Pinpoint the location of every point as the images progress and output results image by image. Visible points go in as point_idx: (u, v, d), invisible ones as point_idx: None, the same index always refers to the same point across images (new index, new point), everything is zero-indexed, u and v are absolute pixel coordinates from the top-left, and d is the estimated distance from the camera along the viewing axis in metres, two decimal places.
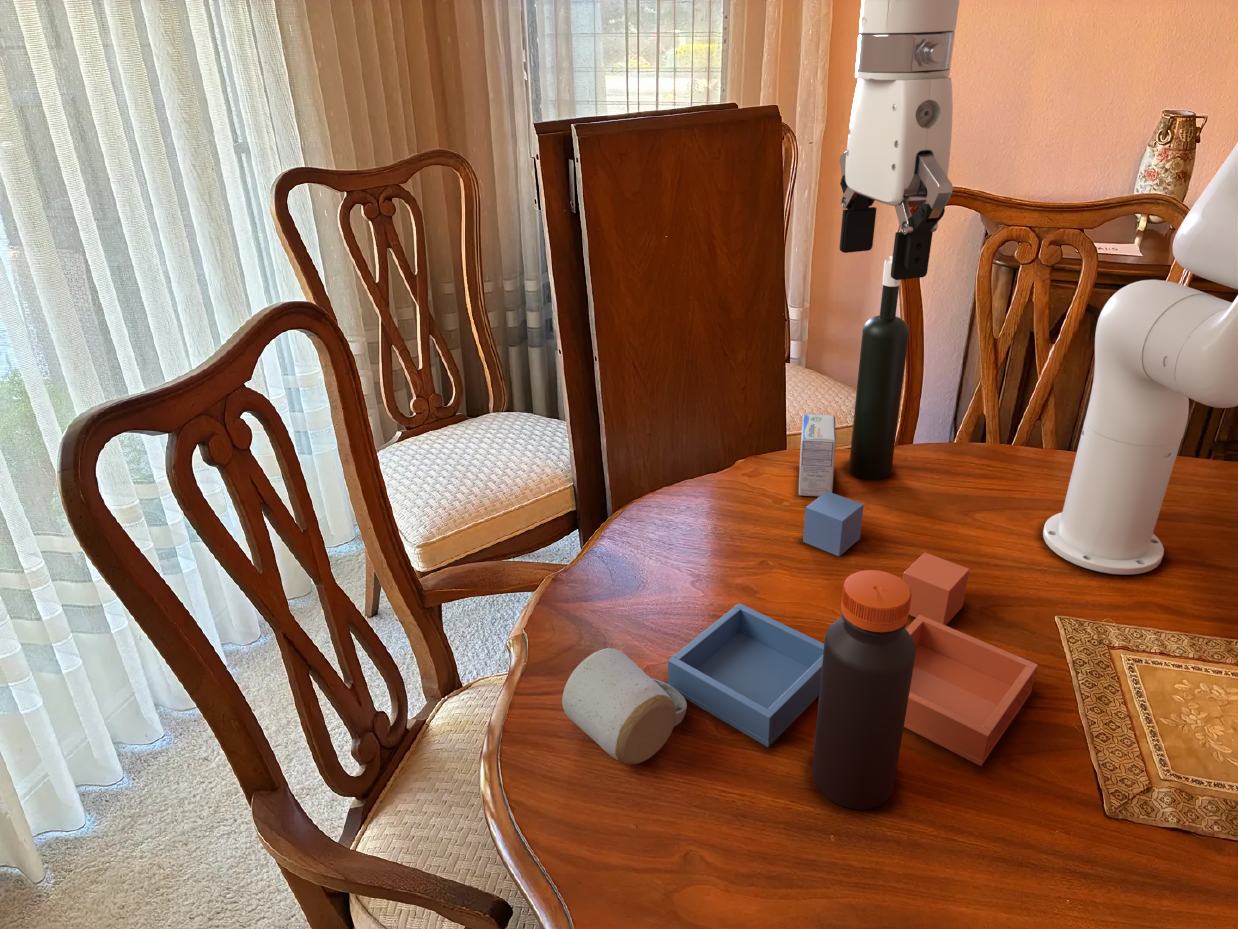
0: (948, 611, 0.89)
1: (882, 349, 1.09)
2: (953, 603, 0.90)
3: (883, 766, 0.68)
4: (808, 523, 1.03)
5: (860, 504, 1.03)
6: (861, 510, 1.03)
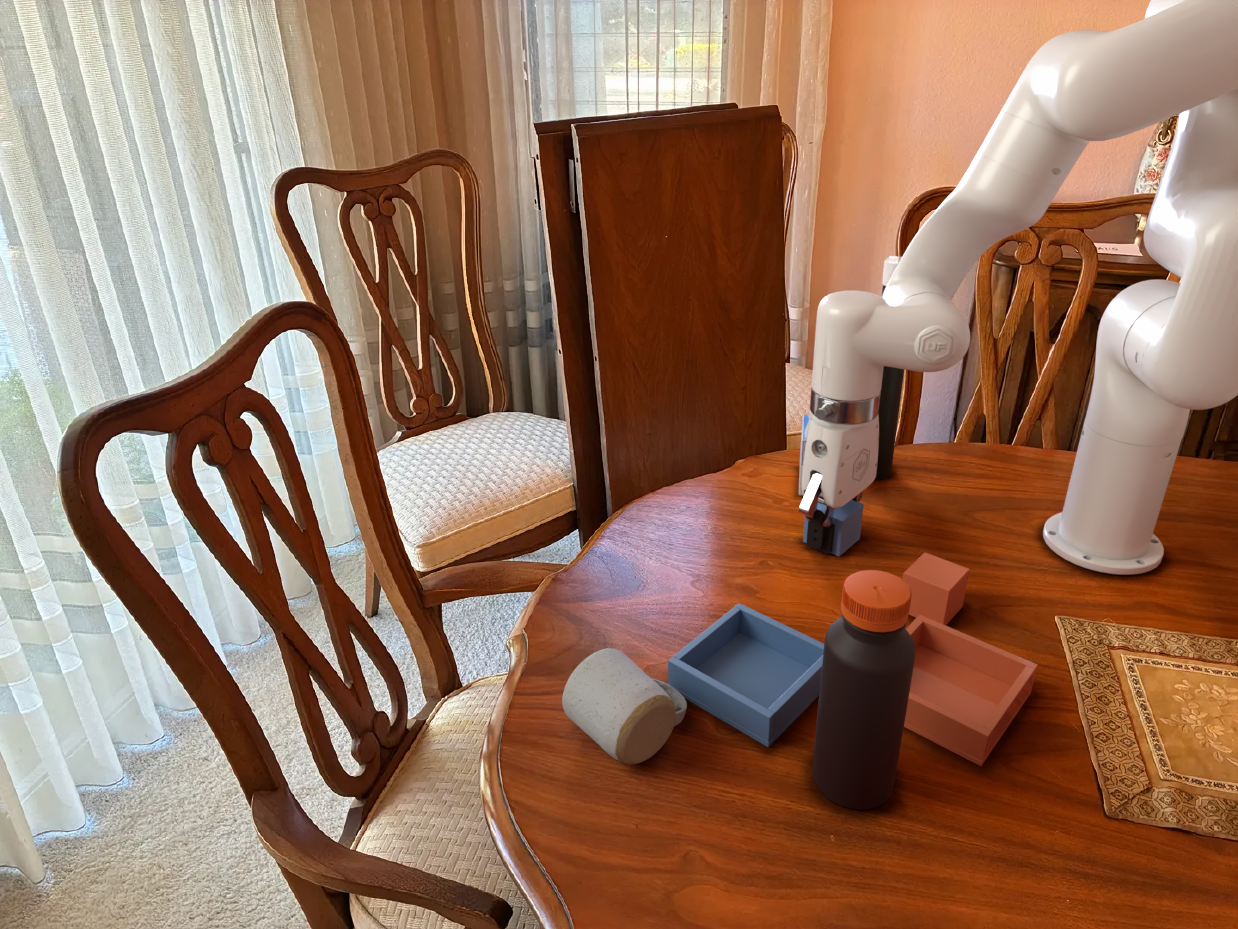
0: (948, 611, 0.89)
1: None
2: (953, 603, 0.90)
3: (883, 766, 0.68)
4: None
5: (860, 504, 1.03)
6: (861, 510, 1.03)
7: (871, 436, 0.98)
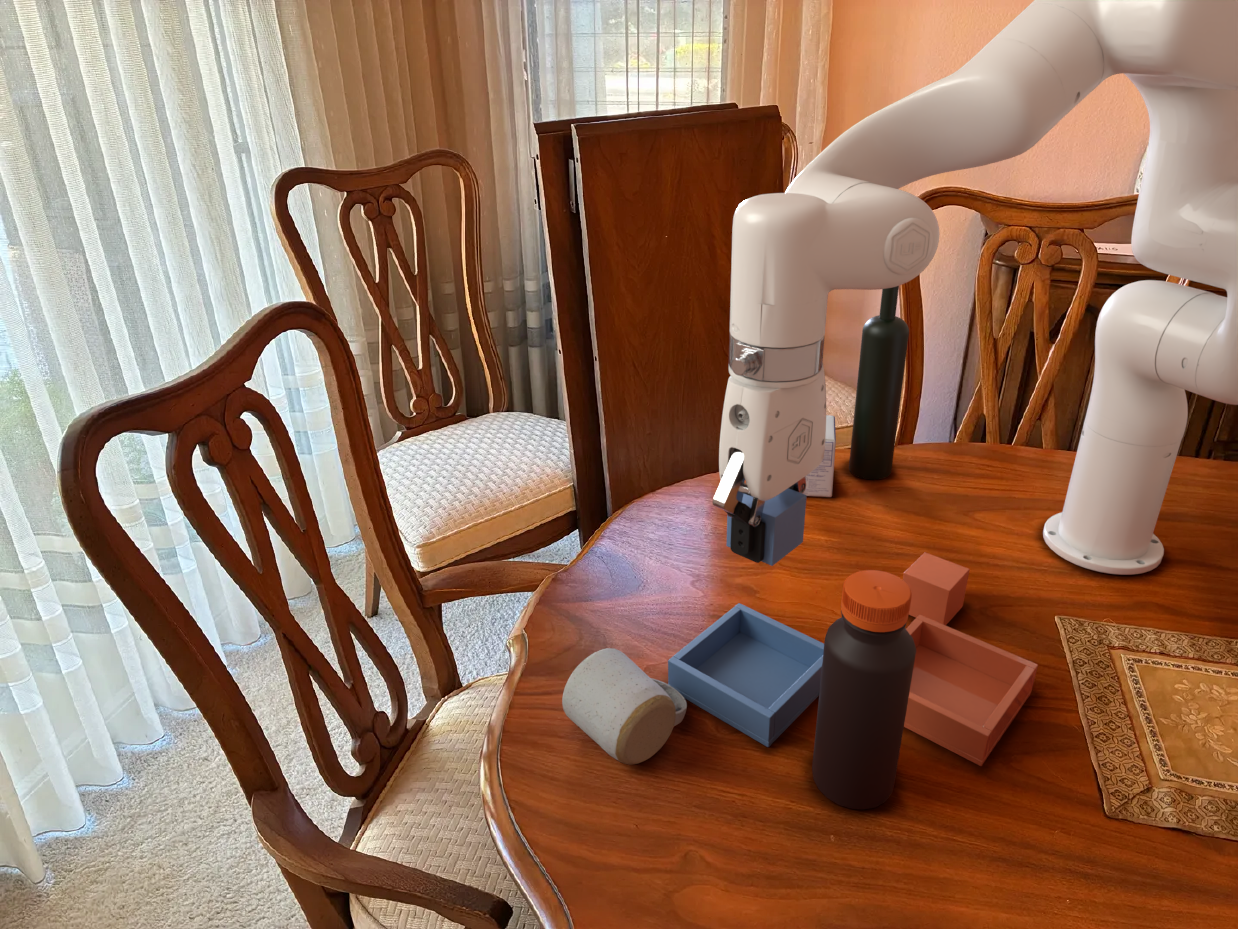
0: (948, 611, 0.89)
1: (882, 349, 1.09)
2: (953, 603, 0.90)
3: (883, 766, 0.68)
4: None
5: (802, 495, 0.76)
6: (803, 503, 0.76)
7: (814, 401, 0.71)
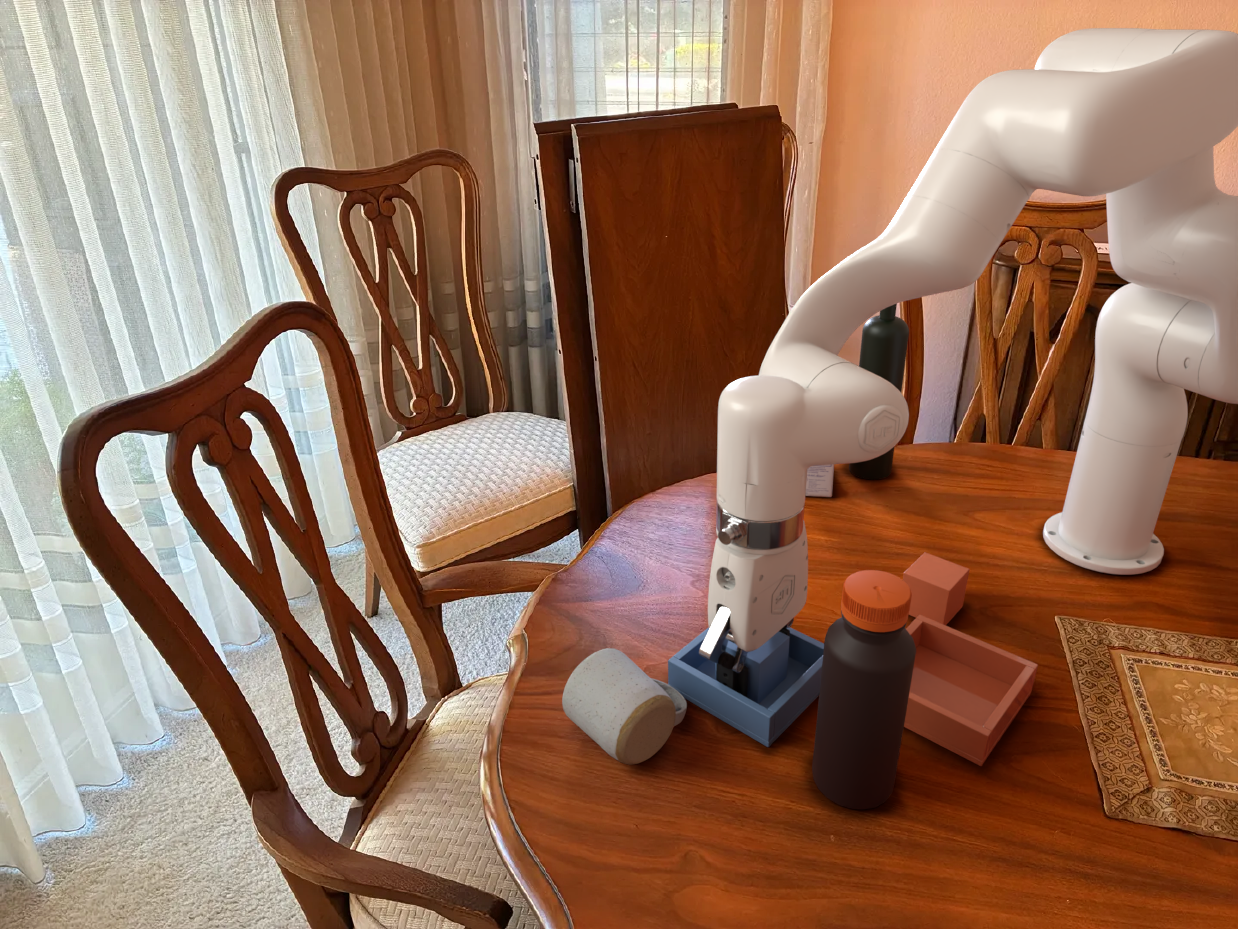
0: (948, 611, 0.89)
1: (882, 349, 1.09)
2: (953, 603, 0.90)
3: (883, 766, 0.68)
4: None
5: (785, 637, 0.81)
6: (786, 644, 0.81)
7: (796, 557, 0.76)
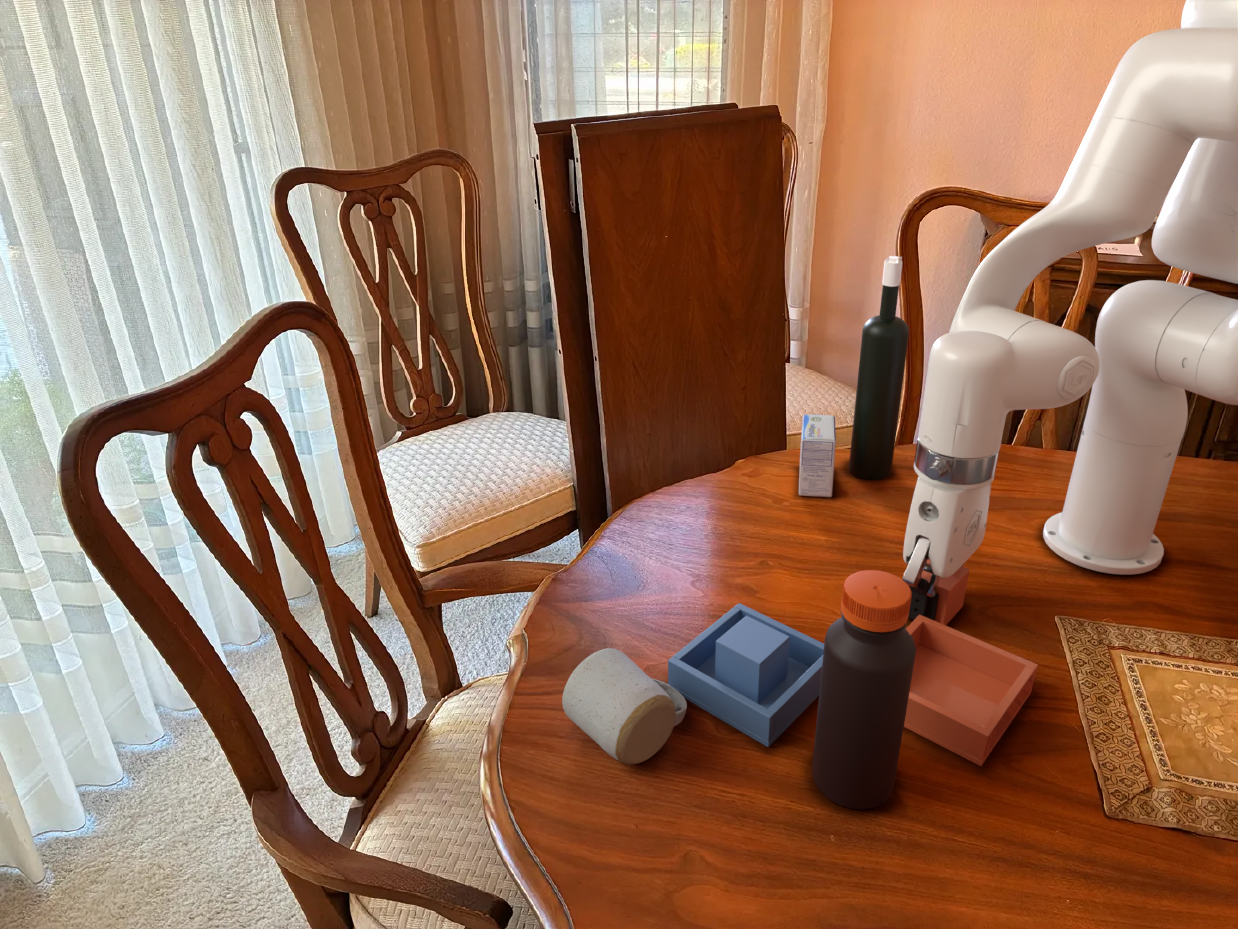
0: (948, 611, 0.89)
1: (882, 349, 1.09)
2: (953, 603, 0.90)
3: (883, 766, 0.68)
4: (720, 660, 0.81)
5: (785, 637, 0.81)
6: (786, 644, 0.81)
7: (984, 495, 0.85)
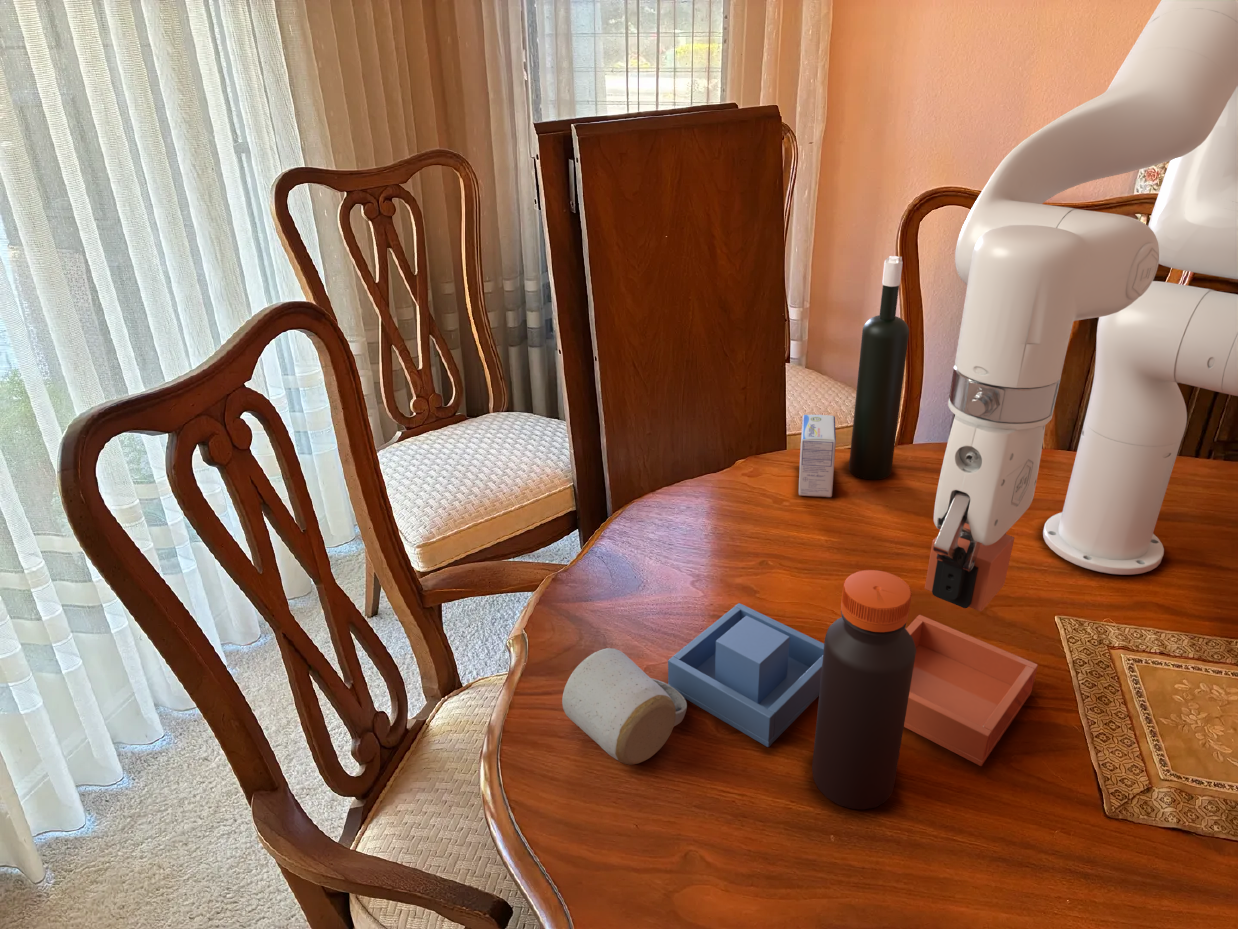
0: (988, 589, 0.71)
1: (882, 349, 1.09)
2: (994, 579, 0.72)
3: (883, 766, 0.68)
4: (720, 660, 0.81)
5: (785, 637, 0.81)
6: (786, 644, 0.81)
7: (1037, 441, 0.68)
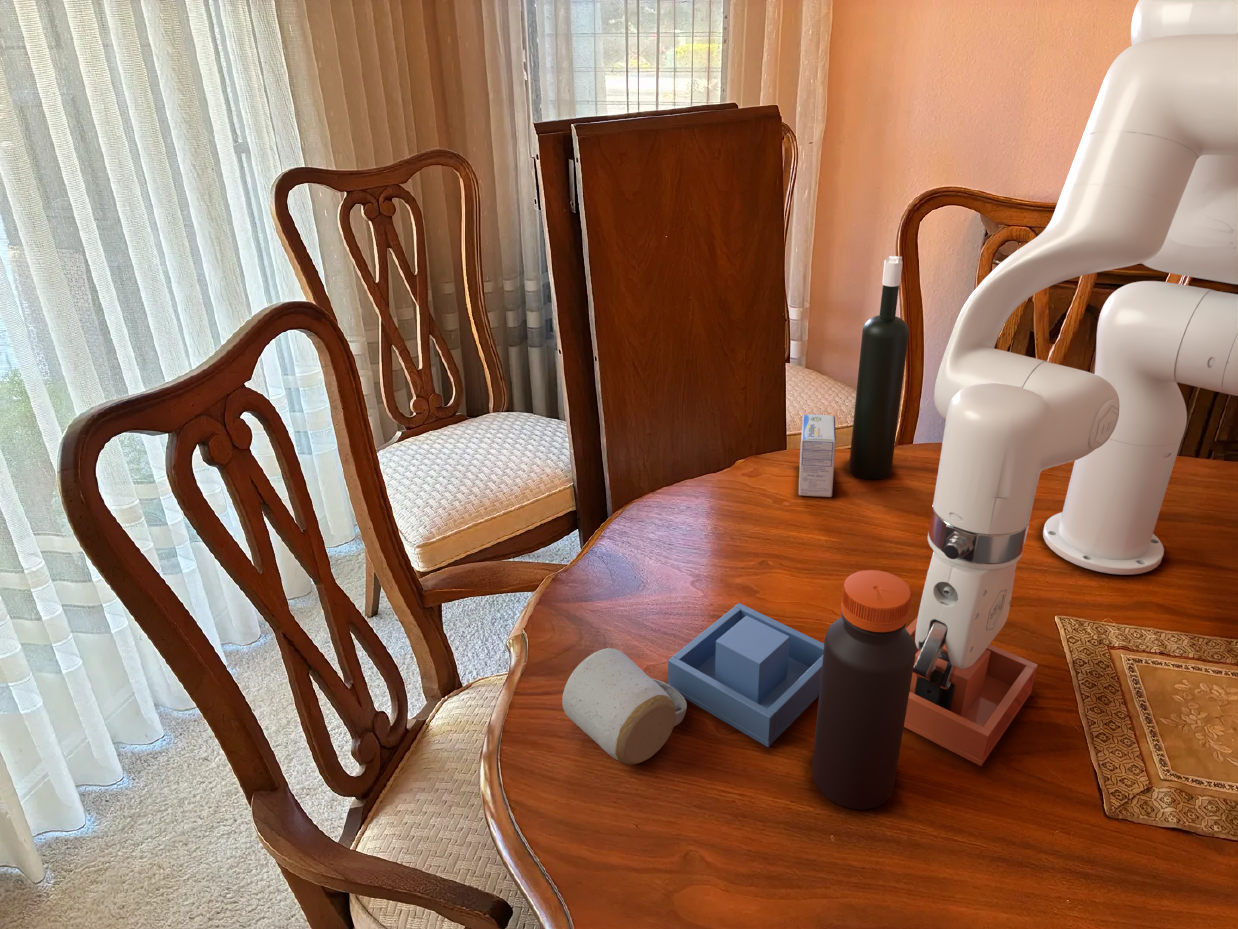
0: (966, 702, 0.77)
1: (882, 349, 1.09)
2: (972, 692, 0.77)
3: (883, 766, 0.68)
4: (720, 660, 0.81)
5: (785, 637, 0.81)
6: (786, 644, 0.81)
7: (1010, 571, 0.73)
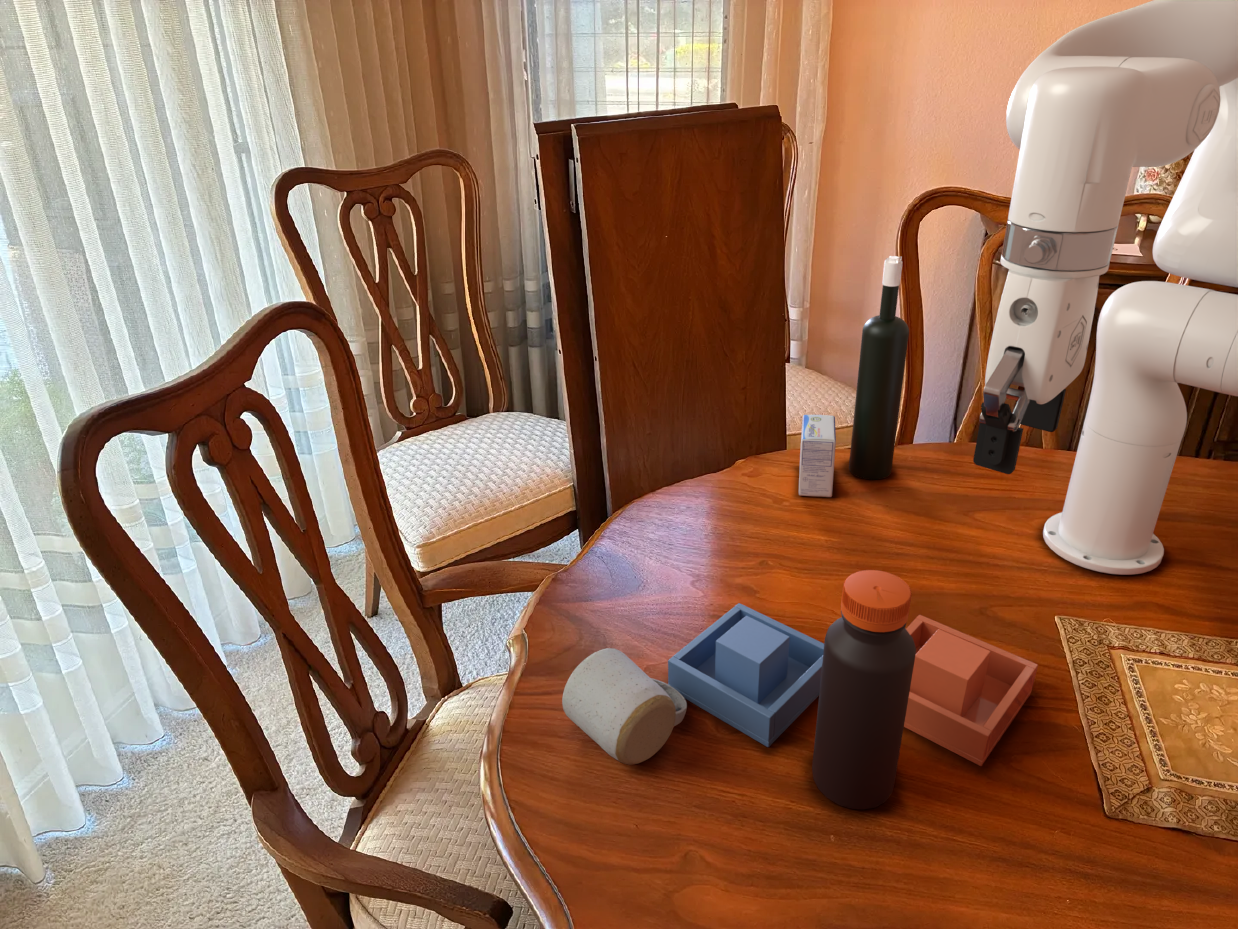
0: (966, 702, 0.77)
1: (882, 349, 1.09)
2: (972, 692, 0.77)
3: (883, 766, 0.68)
4: (720, 660, 0.81)
5: (785, 637, 0.81)
6: (786, 644, 0.81)
7: (1091, 298, 0.67)
